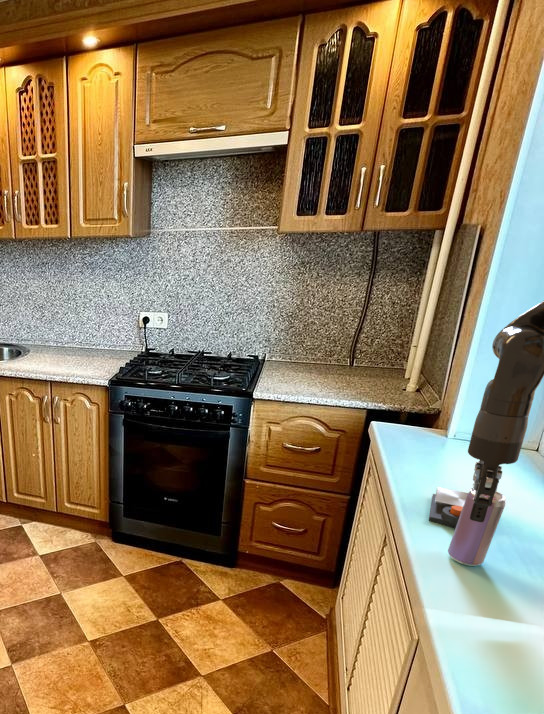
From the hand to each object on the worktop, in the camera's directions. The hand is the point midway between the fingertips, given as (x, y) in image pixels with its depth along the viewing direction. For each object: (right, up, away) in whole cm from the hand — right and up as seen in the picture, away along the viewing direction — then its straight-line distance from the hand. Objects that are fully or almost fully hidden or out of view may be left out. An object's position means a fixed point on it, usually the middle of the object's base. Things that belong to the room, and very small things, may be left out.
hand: (476, 513), depth 104 cm
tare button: (+8, -3, +16) cm, 18 cm away
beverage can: (0, -10, +4) cm, 11 cm away
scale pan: (+13, 0, +21) cm, 25 cm away
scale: (+11, -4, +20) cm, 24 cm away
